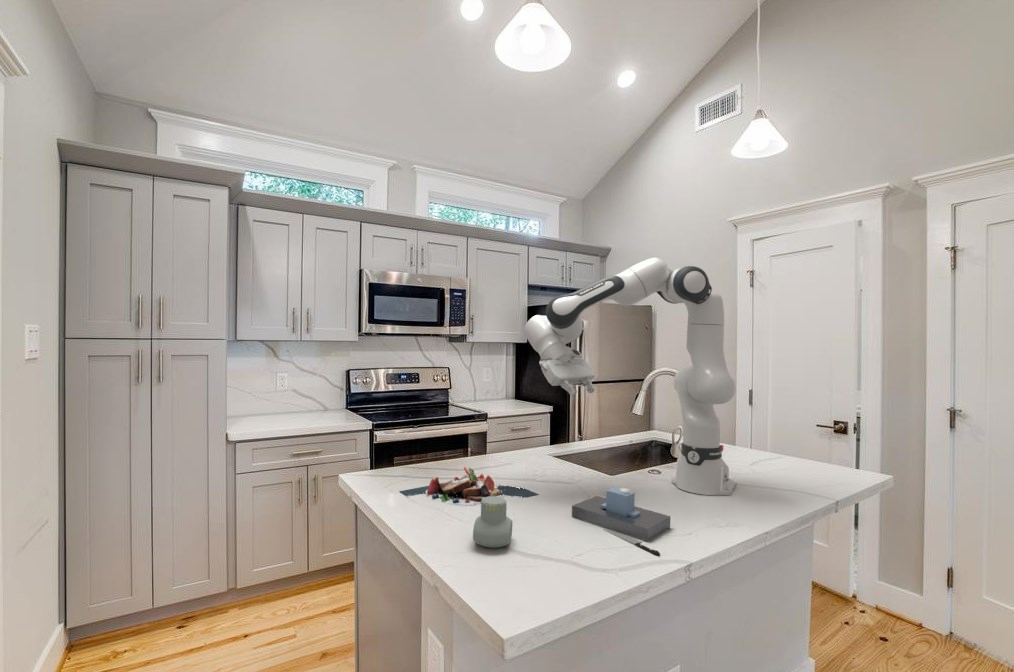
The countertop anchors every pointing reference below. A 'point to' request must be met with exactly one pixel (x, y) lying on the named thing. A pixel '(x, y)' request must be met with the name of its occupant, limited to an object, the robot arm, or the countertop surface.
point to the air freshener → (493, 523)
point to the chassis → (622, 519)
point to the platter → (467, 489)
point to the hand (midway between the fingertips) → (583, 392)
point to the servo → (620, 502)
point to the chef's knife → (633, 542)
